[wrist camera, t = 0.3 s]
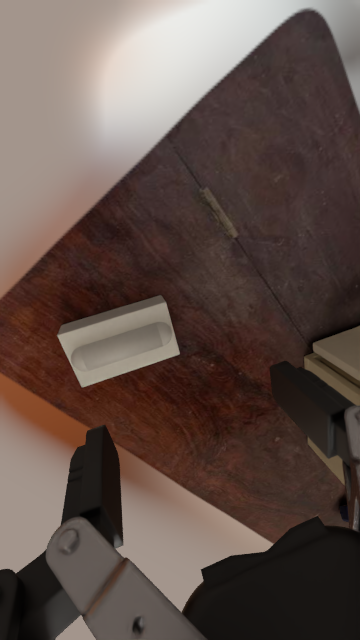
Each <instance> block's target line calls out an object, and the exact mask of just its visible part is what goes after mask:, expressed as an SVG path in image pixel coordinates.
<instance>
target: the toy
mask: <svg viewBox="0 0 360 640" xmlns="http://www.w3.org/2000/svg"><path fill="white" fill-rule="evenodd" d="M339 508H340V514H341V517H342V520H343V521H346V522H349V514H348V505H346V506H340V507H339Z"/></svg>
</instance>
